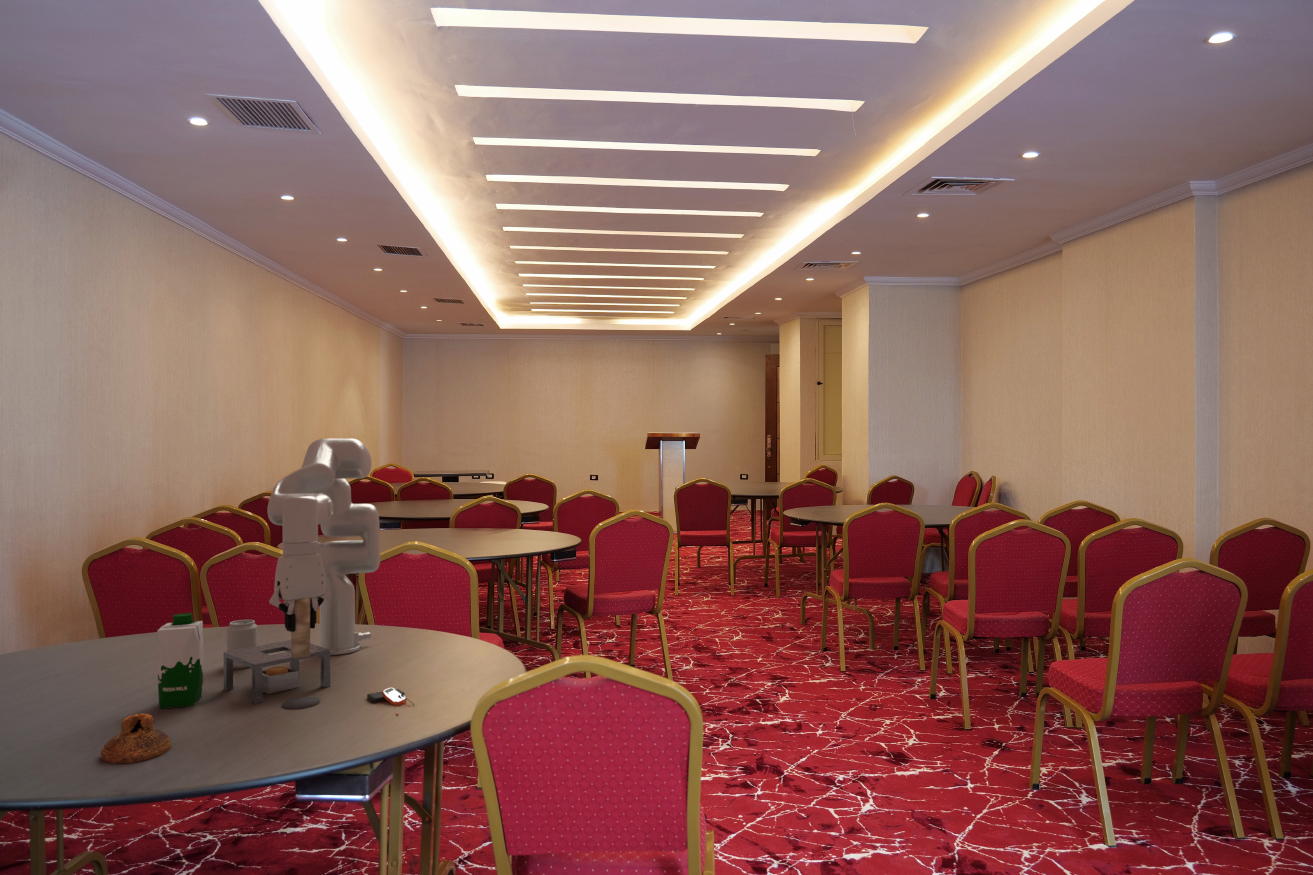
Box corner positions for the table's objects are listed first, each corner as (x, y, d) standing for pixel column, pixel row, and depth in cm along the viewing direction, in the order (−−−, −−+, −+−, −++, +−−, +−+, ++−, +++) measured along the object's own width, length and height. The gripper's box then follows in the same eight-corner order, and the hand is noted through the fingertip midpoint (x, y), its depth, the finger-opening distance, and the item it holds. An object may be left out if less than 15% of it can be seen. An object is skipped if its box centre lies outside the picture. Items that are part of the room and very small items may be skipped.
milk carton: (206, 695, 198) (206, 611, 198) (196, 707, 189) (196, 619, 189) (165, 698, 196) (165, 613, 196) (153, 710, 187) (152, 621, 187)
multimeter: (440, 711, 186) (440, 696, 186) (385, 721, 180) (385, 705, 180) (417, 691, 201) (417, 677, 201) (366, 700, 195) (366, 685, 195)
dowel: (305, 652, 194) (305, 584, 194) (313, 655, 191) (313, 585, 191) (288, 656, 191) (288, 586, 191) (296, 658, 188) (296, 588, 188)
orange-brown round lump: (282, 682, 207) (282, 665, 207) (291, 686, 204) (291, 668, 204) (262, 687, 204) (262, 669, 204) (271, 690, 201) (271, 672, 201)
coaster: (310, 695, 197) (310, 694, 197) (326, 702, 191) (326, 700, 192) (276, 704, 191) (276, 702, 191) (291, 711, 186) (291, 709, 186)
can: (263, 662, 228) (263, 618, 228) (247, 669, 221) (247, 624, 221) (237, 661, 229) (237, 618, 229) (220, 669, 221) (220, 624, 222)
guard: (296, 673, 217) (296, 638, 217) (330, 686, 205) (329, 649, 205) (223, 688, 203) (223, 651, 203) (255, 703, 191) (255, 664, 191)
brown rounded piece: (183, 741, 168) (183, 705, 168) (149, 764, 156) (149, 725, 156) (124, 743, 167) (124, 706, 167) (85, 766, 155) (85, 726, 155)
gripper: (327, 545, 200) (327, 621, 200) (256, 551, 188) (256, 633, 187) (342, 547, 195) (343, 625, 195) (270, 554, 183) (271, 638, 182)
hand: (300, 628), depth 191 cm, fingers closed on dowel, 4 cm apart
